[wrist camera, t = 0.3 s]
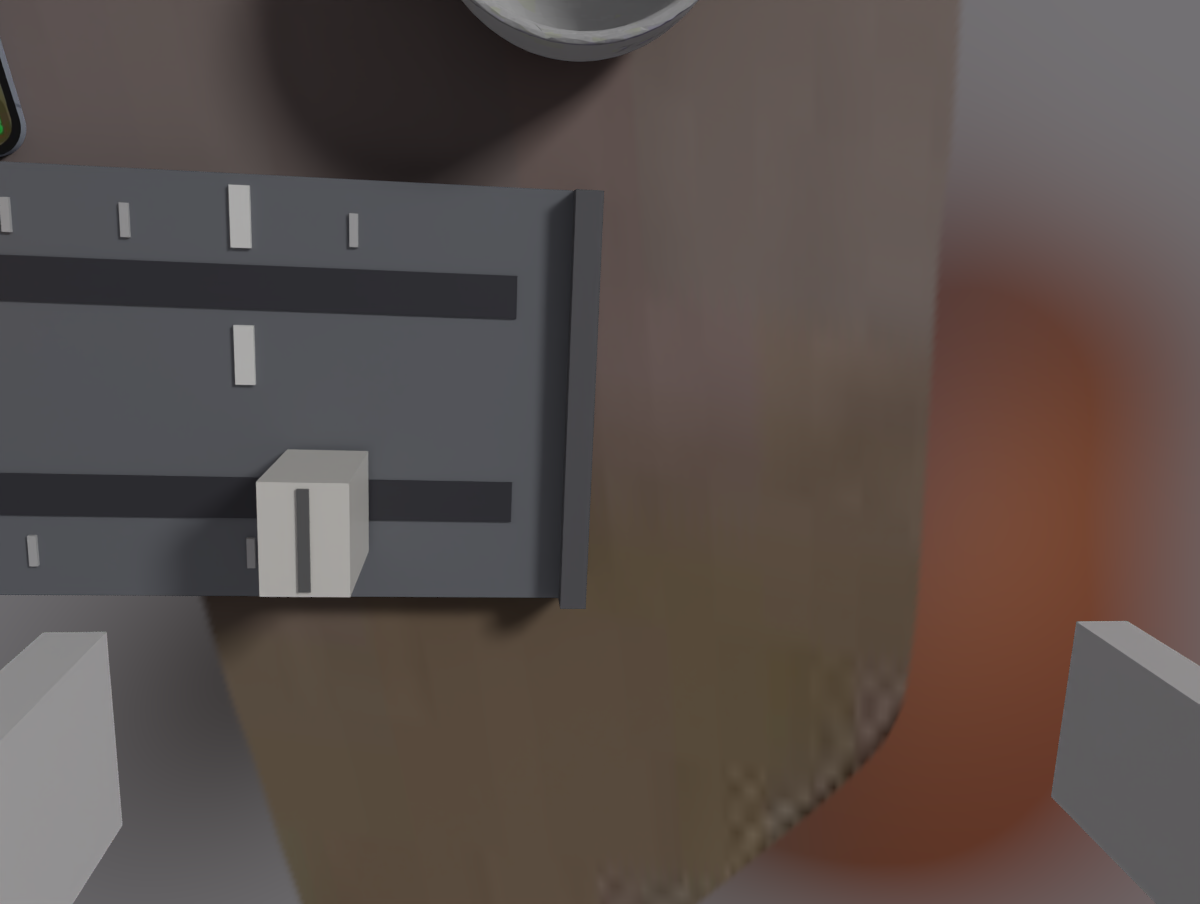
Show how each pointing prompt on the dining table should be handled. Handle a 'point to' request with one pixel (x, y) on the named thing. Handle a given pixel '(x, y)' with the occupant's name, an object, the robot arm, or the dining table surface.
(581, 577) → the console
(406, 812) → the dining table surface
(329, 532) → the fader ivory
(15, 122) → the smartphone
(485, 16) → the teacup
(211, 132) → the dining table surface
